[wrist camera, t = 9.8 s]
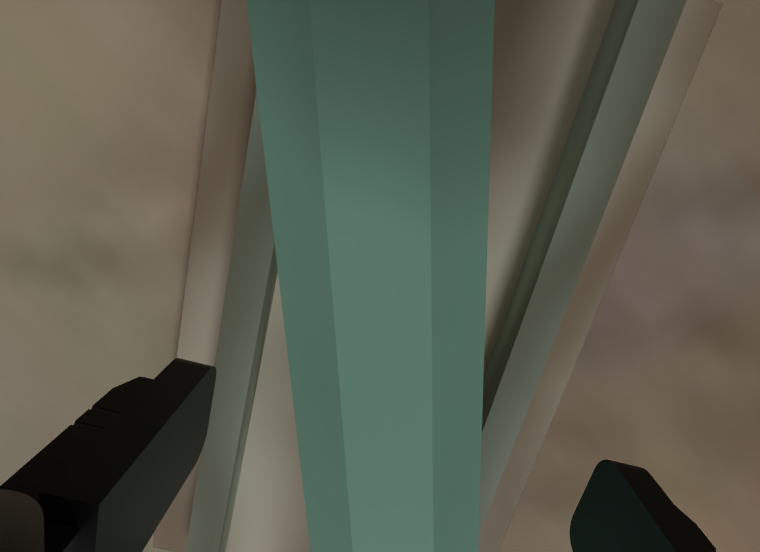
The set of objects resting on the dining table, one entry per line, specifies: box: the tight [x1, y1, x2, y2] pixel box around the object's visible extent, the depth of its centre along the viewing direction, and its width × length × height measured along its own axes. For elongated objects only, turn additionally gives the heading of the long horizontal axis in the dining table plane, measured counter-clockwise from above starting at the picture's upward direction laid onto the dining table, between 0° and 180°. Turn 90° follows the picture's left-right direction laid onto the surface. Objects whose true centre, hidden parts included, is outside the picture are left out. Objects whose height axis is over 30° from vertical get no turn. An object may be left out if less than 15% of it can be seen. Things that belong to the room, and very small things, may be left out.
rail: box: [153, 0, 723, 552], centre depth 16 cm, size 14×24×3 cm, turn 166°
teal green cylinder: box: [246, 0, 495, 552], centre depth 12 cm, size 6×6×25 cm
